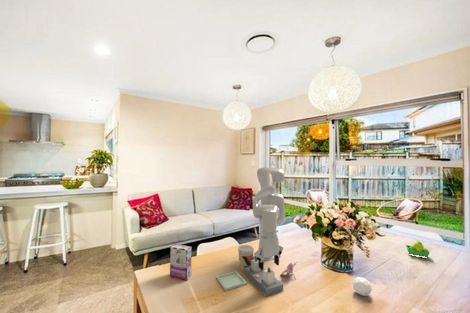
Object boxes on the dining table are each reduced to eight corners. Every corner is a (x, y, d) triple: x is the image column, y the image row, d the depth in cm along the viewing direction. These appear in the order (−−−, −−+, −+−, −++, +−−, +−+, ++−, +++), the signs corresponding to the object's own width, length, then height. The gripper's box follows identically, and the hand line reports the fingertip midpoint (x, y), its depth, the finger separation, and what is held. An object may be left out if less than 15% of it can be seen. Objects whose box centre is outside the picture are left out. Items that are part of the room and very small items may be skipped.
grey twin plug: (257, 272, 116) (257, 255, 116) (261, 276, 112) (261, 258, 113) (251, 274, 114) (251, 257, 114) (254, 278, 111) (255, 260, 111)
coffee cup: (242, 274, 115) (243, 252, 116) (235, 266, 124) (235, 246, 124) (256, 270, 120) (256, 249, 120) (248, 263, 128) (248, 243, 128)
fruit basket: (427, 256, 140) (427, 239, 140) (430, 261, 133) (430, 244, 133) (405, 252, 146) (405, 236, 147) (408, 256, 139) (407, 240, 139)
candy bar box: (191, 276, 113) (192, 246, 113) (186, 281, 108) (187, 250, 109) (175, 272, 117) (175, 243, 117) (169, 276, 112) (169, 246, 112)
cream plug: (269, 284, 105) (269, 265, 105) (274, 288, 102) (274, 269, 102) (263, 286, 103) (263, 267, 104) (268, 290, 100) (268, 271, 100)
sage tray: (236, 273, 116) (236, 270, 116) (246, 285, 105) (246, 282, 105) (216, 279, 110) (216, 275, 110) (225, 292, 99) (225, 288, 100)
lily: (299, 274, 118) (292, 257, 121) (308, 277, 107) (299, 258, 110) (281, 283, 115) (274, 265, 118) (288, 287, 104) (280, 267, 107)
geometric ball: (364, 302, 97) (363, 294, 93) (349, 287, 104) (348, 279, 100) (375, 293, 98) (375, 284, 95) (361, 279, 105) (360, 270, 101)
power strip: (243, 274, 116) (244, 266, 116) (258, 269, 120) (258, 263, 120) (266, 297, 96) (266, 288, 96) (283, 291, 100) (283, 283, 100)
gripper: (278, 228, 110) (277, 259, 111) (250, 233, 103) (250, 266, 103) (287, 233, 104) (287, 266, 104) (258, 239, 96) (258, 274, 96)
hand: (268, 266), depth 104 cm, fingers open, 9 cm apart
